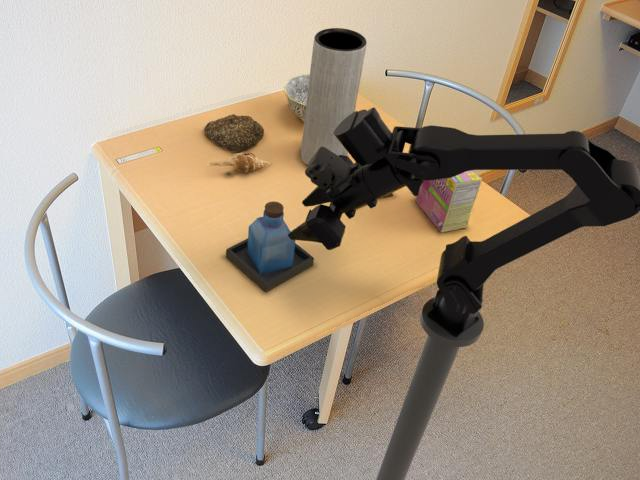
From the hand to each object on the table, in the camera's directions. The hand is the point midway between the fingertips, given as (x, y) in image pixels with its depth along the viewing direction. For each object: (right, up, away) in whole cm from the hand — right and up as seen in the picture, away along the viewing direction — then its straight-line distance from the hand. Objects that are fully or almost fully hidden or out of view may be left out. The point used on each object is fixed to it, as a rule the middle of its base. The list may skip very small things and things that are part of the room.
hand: (296, 220), depth 110 cm
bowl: (+8, +27, +45) cm, 53 cm away
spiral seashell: (-10, +12, +28) cm, 32 cm away
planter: (+9, +16, +33) cm, 38 cm away
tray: (-4, -7, +8) cm, 12 cm away
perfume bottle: (-4, -7, +8) cm, 11 cm away
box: (+30, +2, +20) cm, 36 cm away
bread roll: (-11, +22, +38) cm, 45 cm away
